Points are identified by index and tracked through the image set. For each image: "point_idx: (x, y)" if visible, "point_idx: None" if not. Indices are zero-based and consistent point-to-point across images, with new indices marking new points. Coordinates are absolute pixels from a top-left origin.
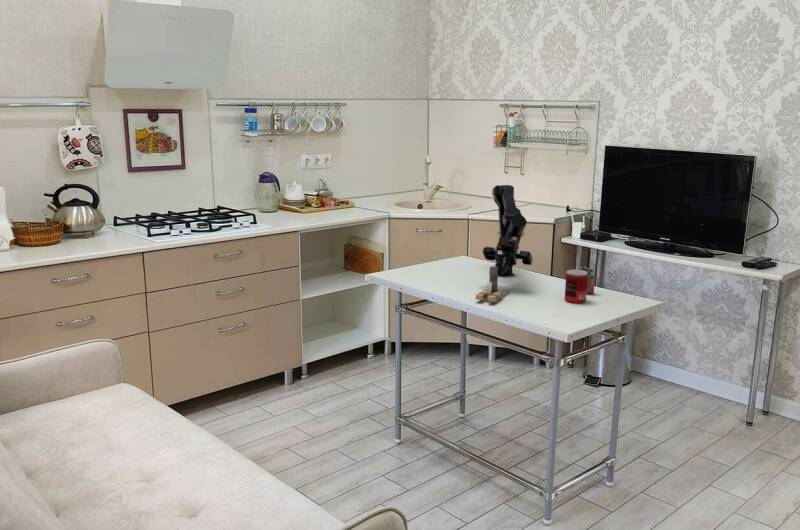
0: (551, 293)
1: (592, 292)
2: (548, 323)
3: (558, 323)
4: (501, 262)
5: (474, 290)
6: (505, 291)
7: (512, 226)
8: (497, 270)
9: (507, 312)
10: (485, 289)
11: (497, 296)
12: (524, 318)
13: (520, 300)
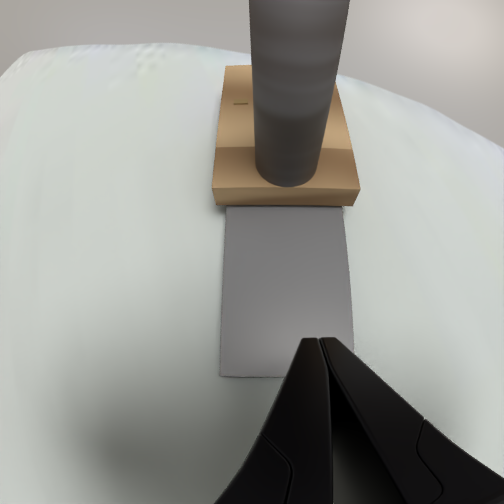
0: (4, 458)
1: None
2: (41, 69)
3: (18, 84)
4: (427, 469)
5: (462, 314)
6: (241, 338)
7: None
8: (251, 8)
9: (153, 65)
10: (351, 172)
11: (222, 103)
12: (97, 58)
13: (111, 236)
